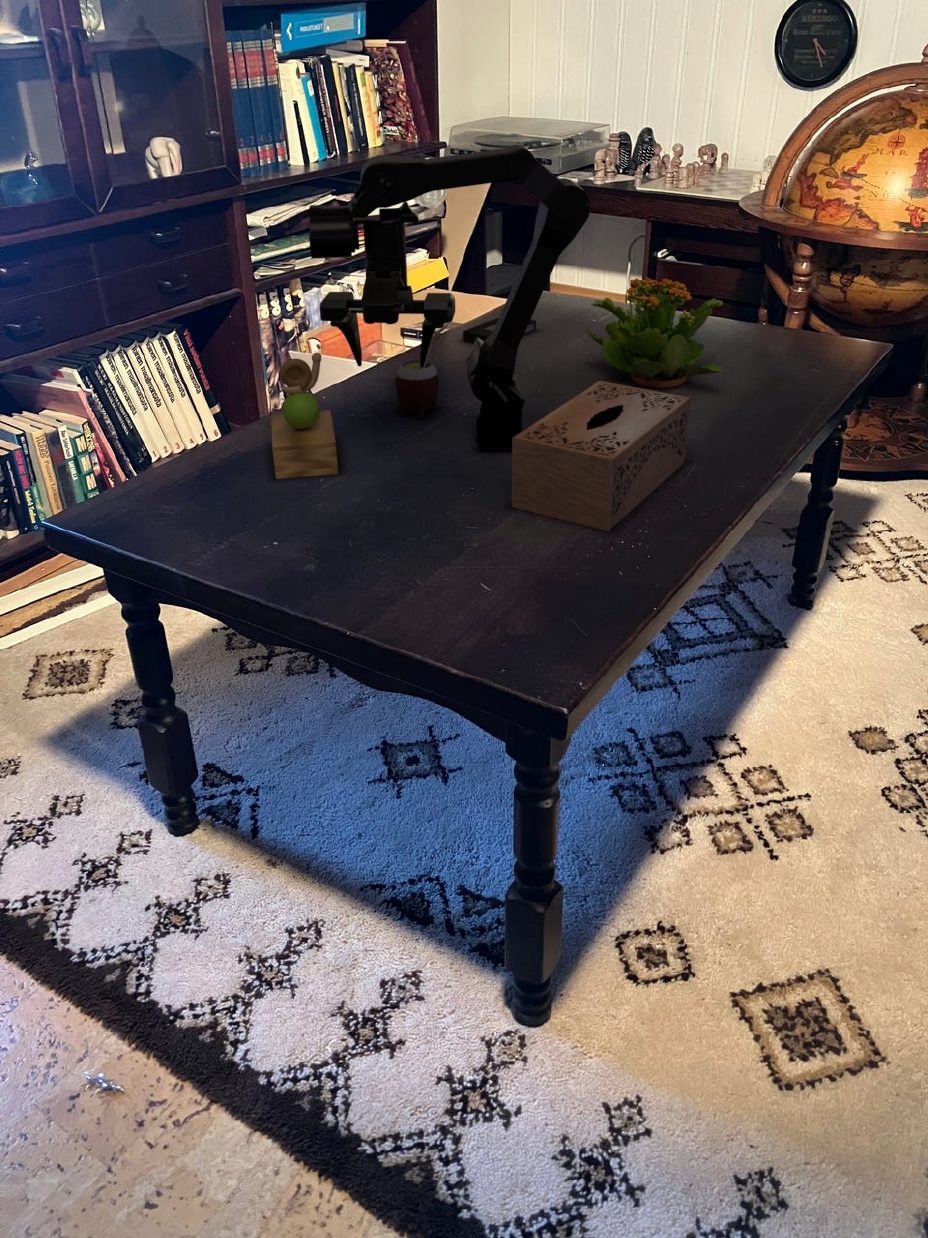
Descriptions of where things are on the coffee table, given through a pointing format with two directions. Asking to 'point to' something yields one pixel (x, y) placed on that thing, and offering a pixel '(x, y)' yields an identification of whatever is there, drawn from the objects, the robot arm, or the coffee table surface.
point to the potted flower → (655, 334)
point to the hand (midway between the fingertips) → (391, 366)
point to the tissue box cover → (599, 454)
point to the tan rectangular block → (304, 448)
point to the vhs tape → (489, 330)
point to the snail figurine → (300, 391)
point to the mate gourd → (418, 384)
